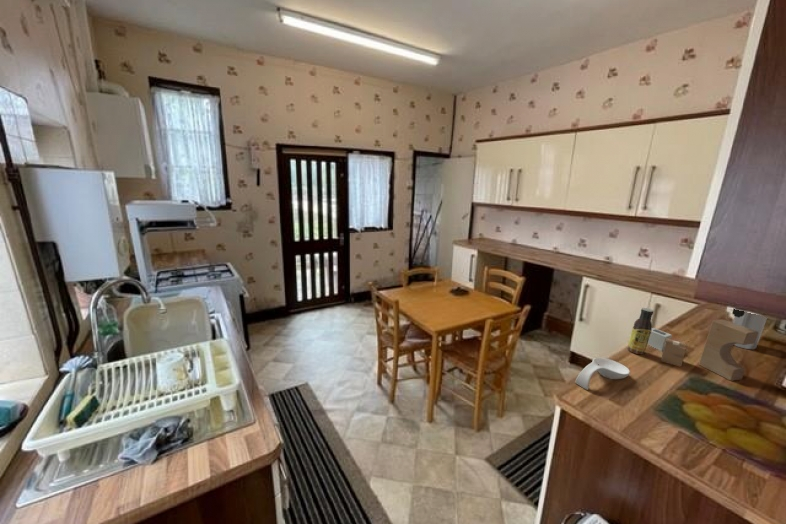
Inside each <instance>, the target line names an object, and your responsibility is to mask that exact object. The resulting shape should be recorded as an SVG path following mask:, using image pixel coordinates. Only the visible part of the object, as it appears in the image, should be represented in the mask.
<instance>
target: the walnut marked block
mask: <svg viewBox="0 0 786 524" xmlns="http://www.w3.org/2000/svg"><path fill="white" fill-rule="evenodd" d="M686 350H687V345H686V342H682V341H678V340H673V339H672V338H671V339H666V342H665V346H664V349H663V351H662V354H661V362H664V363H666V364H670V365H674V366H678V367H679V368H680V367H682V364H683V361H684V357H685V354H686Z"/></svg>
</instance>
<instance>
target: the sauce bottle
mask: <svg viewBox="0 0 786 524" xmlns="http://www.w3.org/2000/svg"><path fill="white" fill-rule="evenodd" d="M654 312H655V311H654V310H653V309H651V308H648V307H641V310H640V315H639V318H638V319H636V321H634V324H633V326H632V329H631V333H630V336H629V340H628V343H627V347H628V348H627V347H626V348H627V350H628V351H629V352H630V353H633V354H635V355H644V354H645V352H646V350H647V346H648V345H647V344H648V340H649V337H650V334H651V331H652V328H653V327H652V324H653V323H652V317H653V314H654Z"/></svg>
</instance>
